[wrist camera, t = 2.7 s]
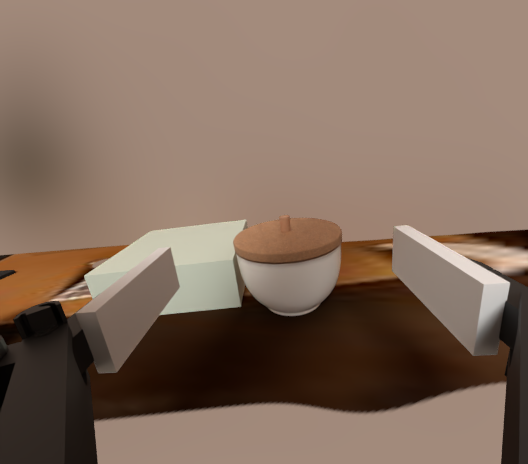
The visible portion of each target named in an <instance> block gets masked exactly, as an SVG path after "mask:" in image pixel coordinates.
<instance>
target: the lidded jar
mask: <svg viewBox="0 0 528 464" xmlns="http://www.w3.org/2000/svg"><path fill="white" fill-rule="evenodd" d="M341 242H342V231H341V229H340V227H339V226H338V225H336V224H335V223H332V222H330V221H326V220H321V219H315V218H290V217H289V215H283V216H280V217H279V220H274V221H269V222H264V223H261V224H257V225H254V226H251V227H249V228H247V229H245V230H243V231H241V232H240V233H239V234H237V235H236V237H235V238H234V241H233V244H234V249H235V253H236V254H237V260H238V265H239V269H240V272H241V275H242V278H243V281H244V283H245V285H246V287H247V289H248V290H249V292H250V293H251V294H252V296H253V297H254V298H255V299H256V300H257V301H258V302H260V303H261V304H263V305H264V306H266V307H267V308H268V309H269V310H270V311H272V312H274V313H276V314H279V315H283V316H299V315H304V314H307V313H310V312H312V311H314V310H315V309H316V308H317V307H318V306H319V305H320V304H321V302H322V301H324V300H325V299H326V298H327V297H328V296H329V294H330V293H331V291H332V290H333V288H334V287H335V285H336V282H337V280H338V276H339V272H340V265H341Z"/></svg>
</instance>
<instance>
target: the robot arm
mask: <svg viewBox="0 0 528 464" xmlns="http://www.w3.org/2000/svg"><path fill="white" fill-rule="evenodd" d="M392 271H393V272H394V273H395V274H396V275H397V276H398V277H399V278H400V280H401V281H402V282H403V283H404V284H405V285H406V286H407V287H408V288H409V289H410V290H411V291H412V292H413V293H414V294H415V295H416V296H417V297H418V298H419V299H420V300H421V301H422V303H423V304H424V305H425V306H426V307H427V308H428V309H429V310H430V311H431V312H432V313H433V314H434V315H435V316H436V317H437V318H438V319H439V320H440V321H441V322H442V323H443V324H444V326H445V327H446V328H447V329H448V330H449V331H450V332H451V333H452V334H453V335H454V336H455V337H456V338H457V339H458V340H459V341H460V342H461V343H462V344H463V345H464V346H465V347H466V349H467V350H468V351H469V352H470V353H471V354H472V355H473V356H475V355H496V354H497V352H498V346H499V341H500V340H502V341H503V342H504V343H505V344H506V345H508V346H509V347H510V351H509V356H508V361H507V366H506V371H505V376H507V384H506V399H505V415H504V430H503V444H502V459H501V464H528V287H526V286H524V285H522V284H520V283H519V282H517V281H515V280H513V279H511V278H509V277H507V276H506V275H502V273H500V272H498V271H496V270H493V268H491V267H489V266H487V265H485V264H483V263H481V262H478V261H475V260H472V259H469V258H468V259H467V258H465V257H464V256H462V255H460V254H458V253H456V252H455V251H453V250H451V249H449V248H448V247H446V246H444V245H442V244H440V243H439V242H437V241H435V240H433V239H432V238H430V237H428V236H426V235H424V234H423V233H421V232H419V231H417V230H416V229H414V228H412V227H410V226H408V225H403V226H394V228H393V257H392ZM179 288H180V285H179V281H178V277H177V272H176V268H175V264H174V260H173V256H172V252H171V247H165V248H158V249H157V250H155V251H154V252H153V253H152V254H150V255H149V256H148V257H146V258H145V259H144V260H143V261H141V262H140V263H139V264H138V265H136V266H135V267H134V268H132V269H131V270H130V271H129V272H127V273H126V274H125V275H124V276H122V277H121V278H120V279H118V280H117V281H116V282H115V283H113V284H112V285H111V286H110V287H108V288H107V289H106V290H104V291H103V292H102V293H100V294H99V295H98V296H96V297H95V298H94V299H93V300H92V301H90V302H89V303H87V304H86V305H85V306H84V307H82V308H81V309H80V310H79V311H77V312H76V313H75V314H73V315H72V316H71V317H70V318H68V319H66V316H65V314H64V311H63V309H62V306H61V304H60V302H59V301H50V302H45V303H42V304H38V305H36V306H33V307H31V308H29V309H27V310H25V311H23V312H21V313H20V314H18V315H17V316H16V317H15V318H14V319H13V320H14V323H15V325H16V327H17V329H18V331H19V333H20V335H21V337H22V342H19V343H15V344H11V345H6V343H5V341H4V339H3V337H2V336H1V335H0V464H98V463H97V451H96V440H95V430H94V419H93V408H92V397H91V386H90V376H89V374H88V371H87V368H88V367H89V366H90V364H91V363H92V362H93V361H94V363H95V365H96V368H97V371H98V373H113V372H117V371H118V370H119V369H120V367H121V366H122V365H123V363H124V362H125V360H126V359H127V358H128V356H129V355H130V354H131V352H132V351H133V350H134V348H135V347H136V346H137V344H138V343H139V342H140V340H141V339H142V338H143V336H144V335H145V334H146V332H147V331H148V330H149V328H150V327H151V325H152V324H153V323H154V321H155V320H156V319H157V317H158V316H159V315H160V313H161V312H162V311H163V309H164V308H165V307H166V305H167V304H168V303H169V301H170V300H171V299H172V297H173V296H174V294H175V293H176V292H177V290H178V289H179Z"/></svg>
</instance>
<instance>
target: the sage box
mask: <svg viewBox="0 0 528 464" xmlns="http://www.w3.org/2000/svg"><path fill="white" fill-rule="evenodd" d="M245 229H247V221H246V220H239V221H231V222H223V223H214V224H205V225H197V226H189V227H180V228H172V229H164V230H155V231H150V232H149V233H147V234H146V235H144V236H143V237H141V238H140V239H138V240H137V241H135V242H134V243H132V244H131V245H129V246H128V247H126V248H125V249H123V250H122V251H120V252H119V253H117V254H116V255H115V256H113V257H112V258H110V259H109V260H107V261H106V262H104V263H103V264H101V265H100V266H98V267H97V268H95V269H94V270H92V271H91V272H89V273H88V274H86V275H85V276H84V277H85V280H86V282H87V285H88V288H89V290H90V293H91V296H92V298H93V299H94V298H95V297H96V296H98V295H99V294H100V293H102V292H103V291H104V290H106V289H107V288H108V287H110V286H111V285H112V284H113V283H115V282H116V281H117V280H118V279H120V278H121V277H122V276H124V275H125V274H126V273H127V272H129V271H130V270H131V269H132V268H134V267H135V266H136V265H138V264H139V263H140V262H141V261H143V260H144V259H145V258H146V257H148V256H149V255H150V254H152V253H153V252H154V251H155V250H157V249H158V248H165V247H171V252H172V256H173V260H174V264H175V268H176V272H177V277H178V281H179V285H180V288H179V289H178V290H177V292H176V293H175V294H174V296H173V297H172V299H171V300H170V301H169V303H168V304H167V305H166V307H165V308H164V309H163V311H162V312H161V313H160V315H163V314H173V313H183V312H193V311H203V310H213V309H223V308H233V307H241V304H242V299H243V293H244V288H245V283H244V281H243V278H242V275H241V272H240V269H239V265H238V260H237V254H236V253H235V249H234V244H233V241H234V238H235V237H236V235H237V234H239V233H240V232H241V231H243V230H245Z"/></svg>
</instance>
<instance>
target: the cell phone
mask: <svg viewBox="0 0 528 464" xmlns="http://www.w3.org/2000/svg"><path fill="white" fill-rule="evenodd" d="M14 273H15V271H14V270H6V271H0V279H3V278H5V277H7V276H10V275H12V274H14Z"/></svg>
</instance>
